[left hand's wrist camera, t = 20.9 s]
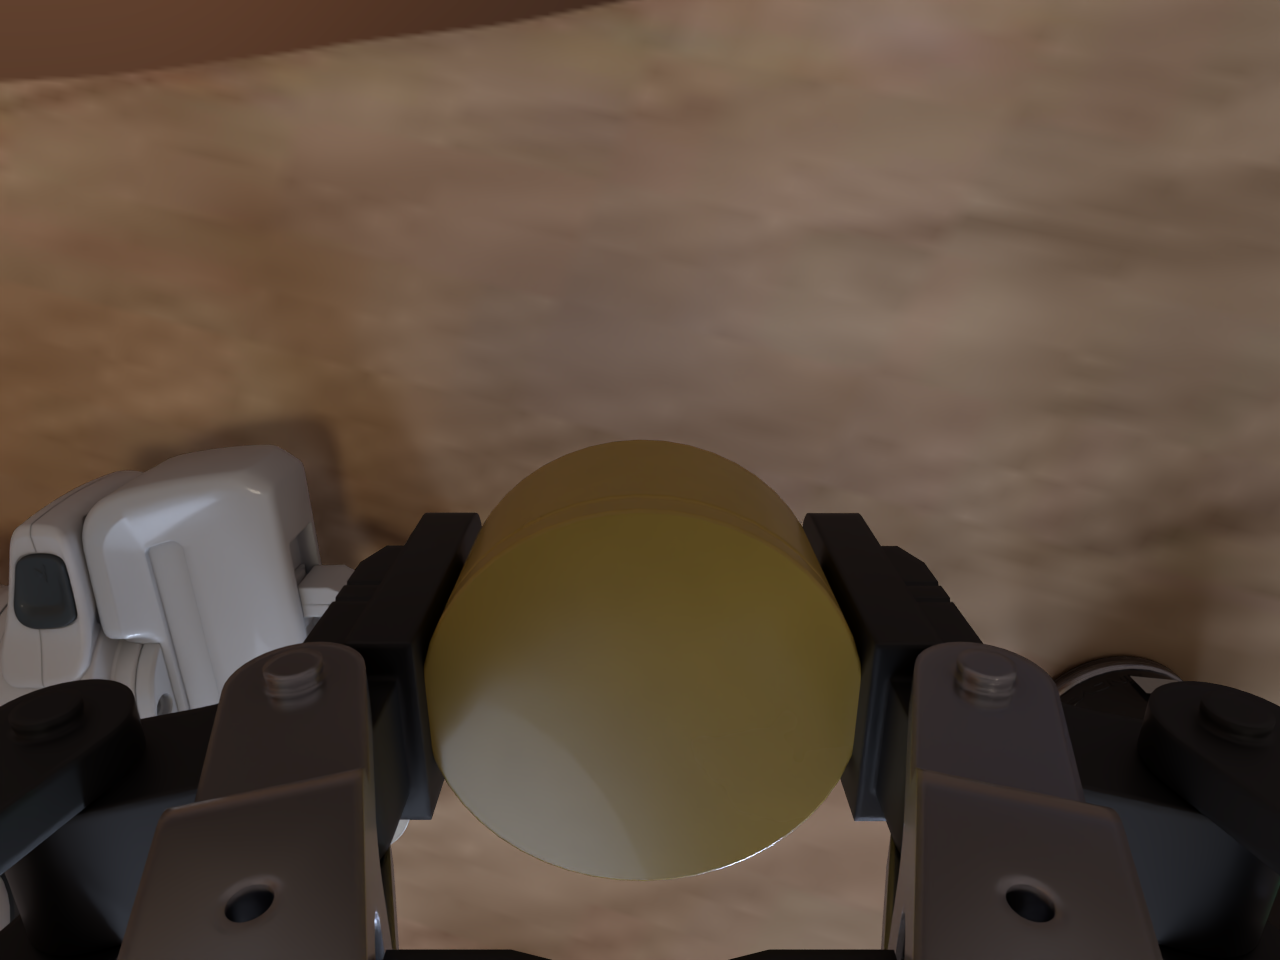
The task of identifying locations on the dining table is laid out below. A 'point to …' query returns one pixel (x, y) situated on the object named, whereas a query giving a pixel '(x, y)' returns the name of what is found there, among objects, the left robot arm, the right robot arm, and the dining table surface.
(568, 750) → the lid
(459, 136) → the dining table surface
